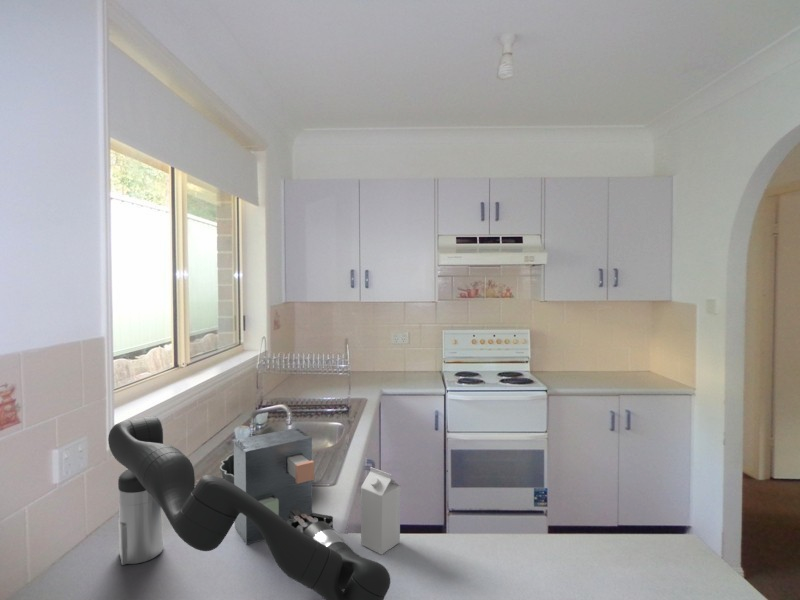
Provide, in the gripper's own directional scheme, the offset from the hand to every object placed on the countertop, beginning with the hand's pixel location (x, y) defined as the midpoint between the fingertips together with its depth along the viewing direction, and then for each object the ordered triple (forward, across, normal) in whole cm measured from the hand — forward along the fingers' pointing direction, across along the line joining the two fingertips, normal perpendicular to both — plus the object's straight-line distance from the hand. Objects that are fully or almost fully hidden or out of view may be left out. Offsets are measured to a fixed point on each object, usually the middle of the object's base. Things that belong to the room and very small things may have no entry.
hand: (292, 513), depth 113 cm
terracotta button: (+10, -6, -4) cm, 12 cm away
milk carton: (-7, -21, +11) cm, 25 cm away
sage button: (+14, +2, +5) cm, 15 cm away
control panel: (+17, -2, +11) cm, 21 cm away
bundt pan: (+38, -6, +12) cm, 40 cm away
